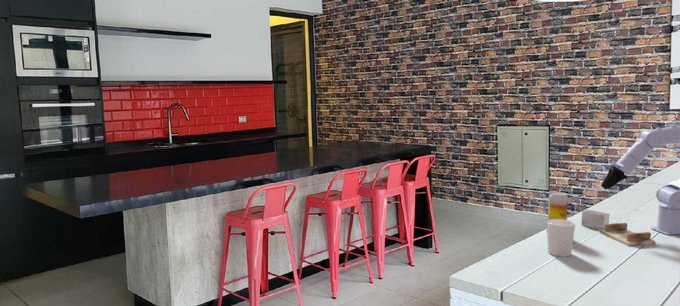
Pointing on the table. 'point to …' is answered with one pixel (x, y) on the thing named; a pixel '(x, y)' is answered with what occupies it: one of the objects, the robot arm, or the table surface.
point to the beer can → (557, 206)
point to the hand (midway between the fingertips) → (604, 187)
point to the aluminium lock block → (595, 219)
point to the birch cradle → (626, 235)
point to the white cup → (560, 237)
